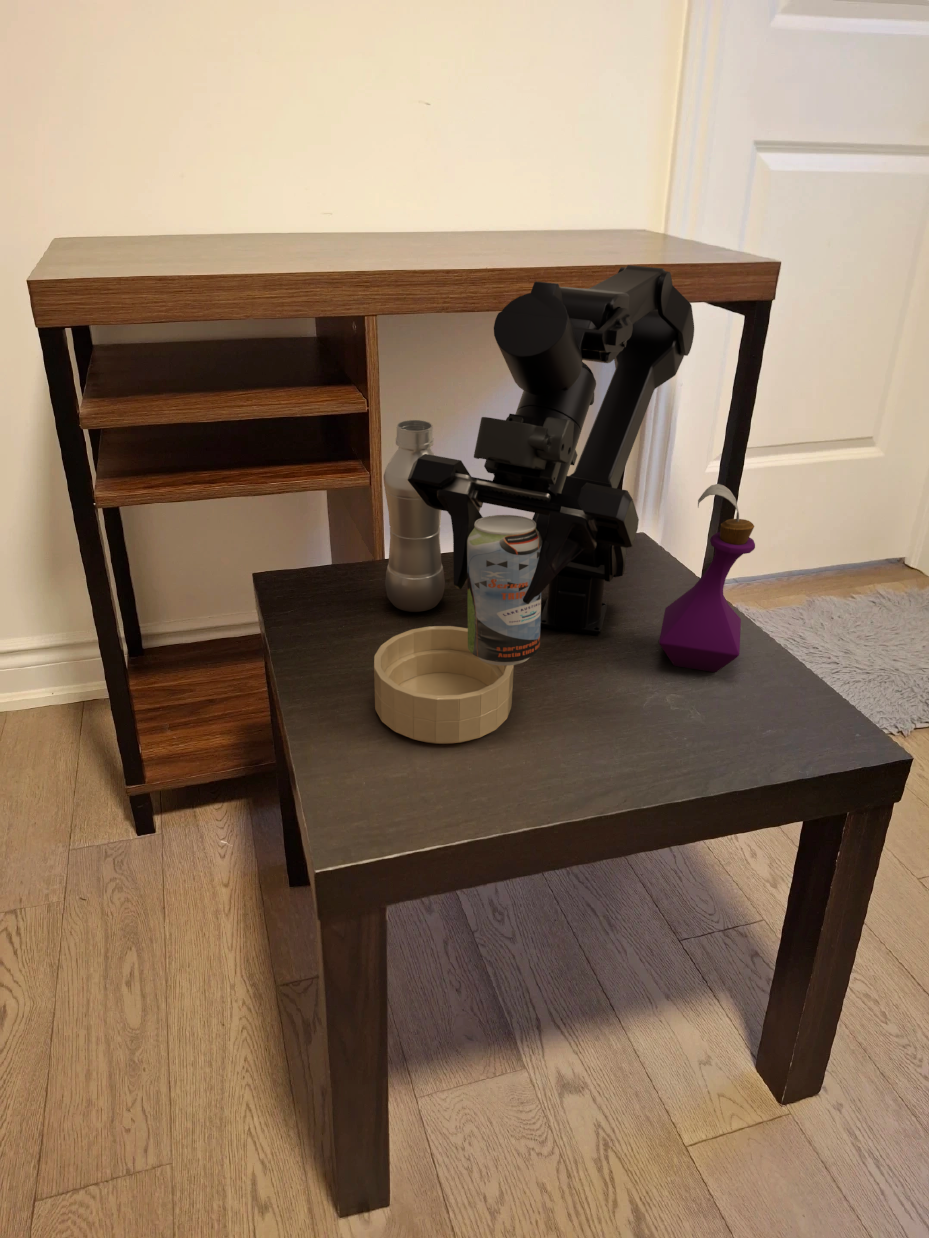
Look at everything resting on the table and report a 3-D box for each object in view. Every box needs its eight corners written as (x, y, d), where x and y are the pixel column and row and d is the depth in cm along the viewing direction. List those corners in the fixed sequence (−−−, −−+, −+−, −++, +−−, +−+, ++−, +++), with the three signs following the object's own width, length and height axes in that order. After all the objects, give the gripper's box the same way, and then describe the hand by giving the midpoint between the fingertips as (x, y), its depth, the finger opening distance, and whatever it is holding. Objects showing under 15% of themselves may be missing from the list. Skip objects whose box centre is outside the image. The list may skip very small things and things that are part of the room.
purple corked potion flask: (735, 646, 96) (767, 479, 87) (733, 684, 89) (768, 508, 81) (661, 635, 97) (685, 470, 89) (654, 671, 91) (679, 498, 82)
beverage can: (490, 684, 76) (500, 550, 70) (446, 640, 81) (452, 512, 75) (554, 665, 78) (569, 535, 72) (508, 624, 84) (518, 500, 78)
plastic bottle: (445, 591, 105) (448, 416, 95) (443, 620, 99) (446, 437, 89) (388, 589, 105) (385, 414, 95) (382, 619, 99) (378, 435, 89)
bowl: (398, 663, 91) (398, 618, 89) (522, 681, 89) (524, 636, 87) (356, 734, 81) (354, 686, 79) (494, 758, 79) (496, 708, 76)
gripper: (417, 357, 75) (351, 534, 72) (645, 388, 68) (583, 586, 65) (458, 425, 85) (401, 583, 82) (660, 459, 78) (607, 633, 75)
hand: (490, 595), depth 76 cm, fingers closed on beverage can, 6 cm apart
